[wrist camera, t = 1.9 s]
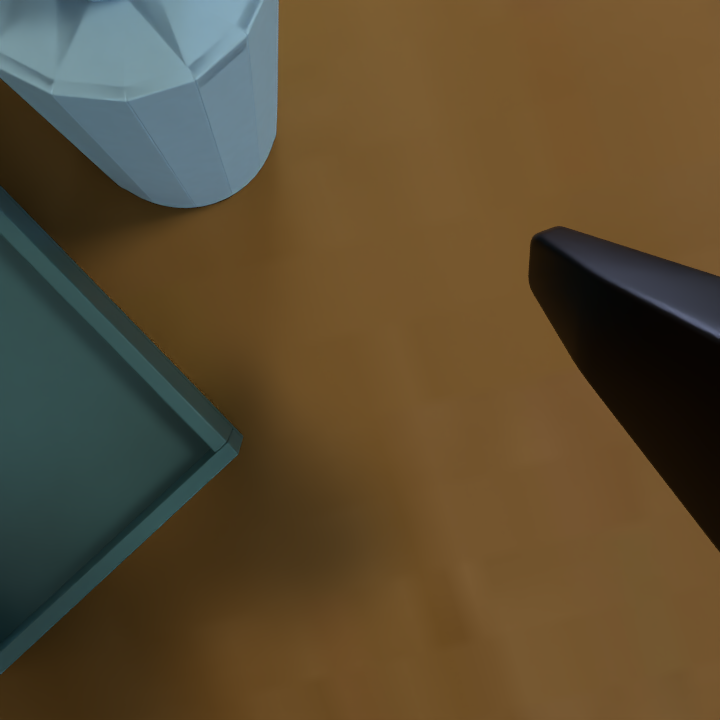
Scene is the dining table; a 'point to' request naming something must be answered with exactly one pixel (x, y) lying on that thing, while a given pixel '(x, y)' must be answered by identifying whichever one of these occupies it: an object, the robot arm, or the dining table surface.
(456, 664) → the dining table surface
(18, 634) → the teal open tray
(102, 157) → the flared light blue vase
